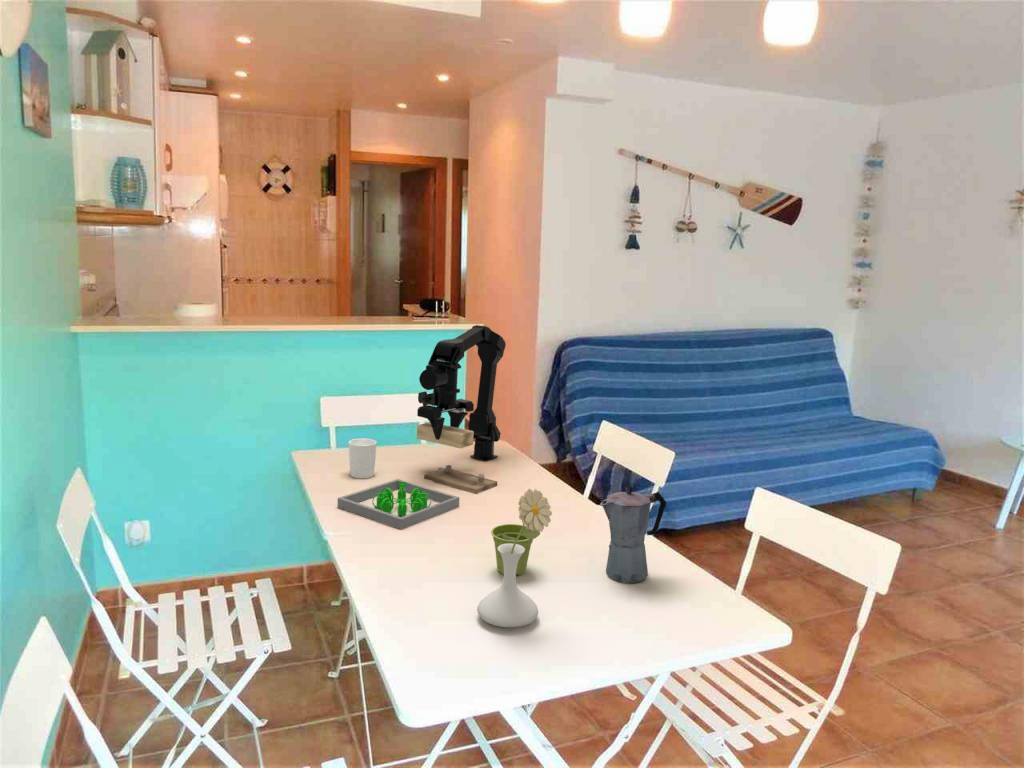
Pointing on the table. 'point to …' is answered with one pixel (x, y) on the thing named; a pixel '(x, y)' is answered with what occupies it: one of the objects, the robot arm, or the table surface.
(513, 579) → the flower in vase
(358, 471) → the white cup
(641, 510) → the moka pot
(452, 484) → the peg stand
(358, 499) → the toy tray rim
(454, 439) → the beige wooden block
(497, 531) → the plant pot
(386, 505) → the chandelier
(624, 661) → the table surface
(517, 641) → the table surface
